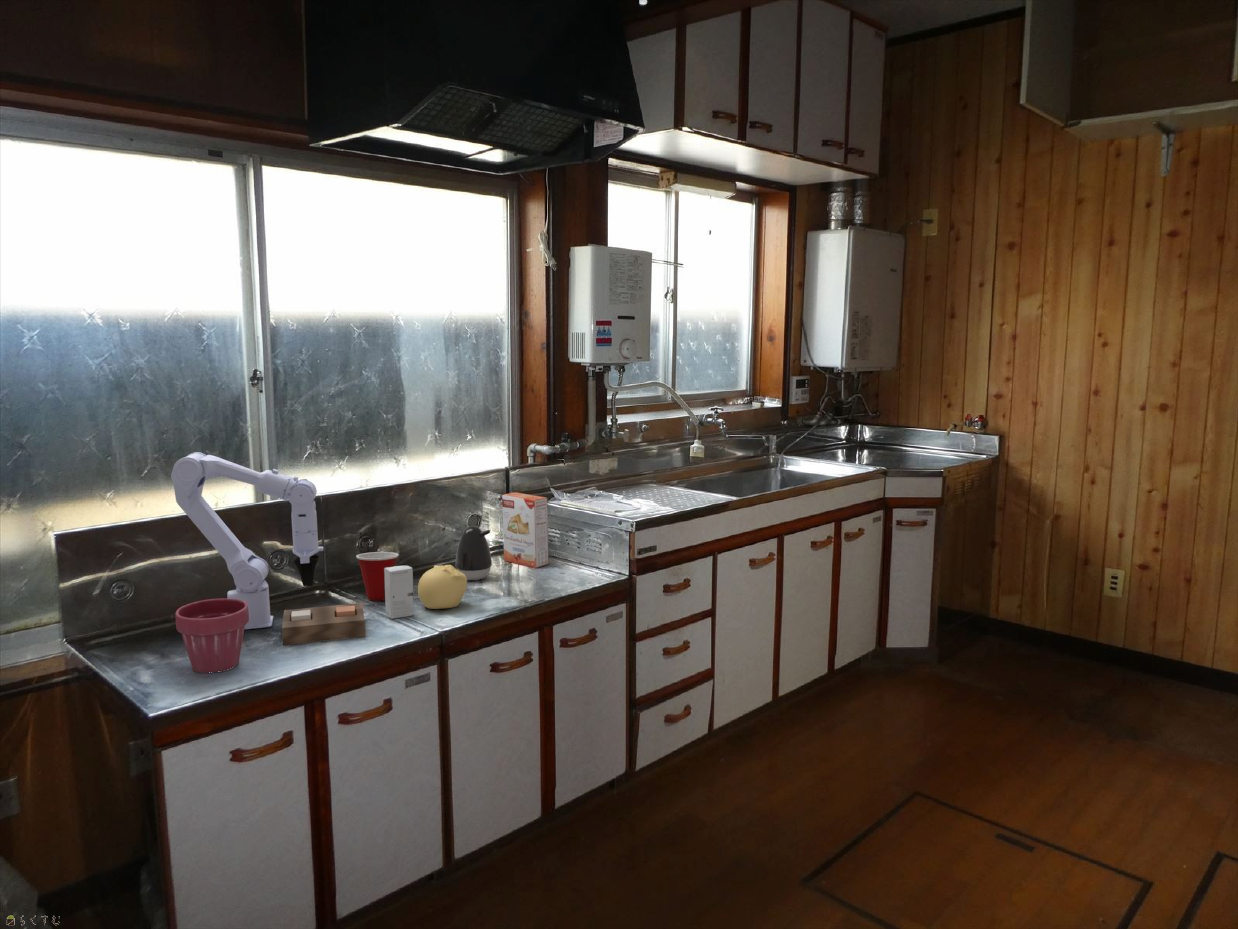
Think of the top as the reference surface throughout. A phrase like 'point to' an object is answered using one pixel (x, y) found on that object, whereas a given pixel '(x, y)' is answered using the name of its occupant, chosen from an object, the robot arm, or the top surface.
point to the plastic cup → (375, 572)
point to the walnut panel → (323, 625)
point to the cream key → (301, 615)
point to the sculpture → (442, 587)
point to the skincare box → (399, 591)
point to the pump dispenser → (473, 554)
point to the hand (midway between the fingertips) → (308, 585)
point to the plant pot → (213, 632)
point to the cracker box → (525, 529)
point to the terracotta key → (345, 611)
